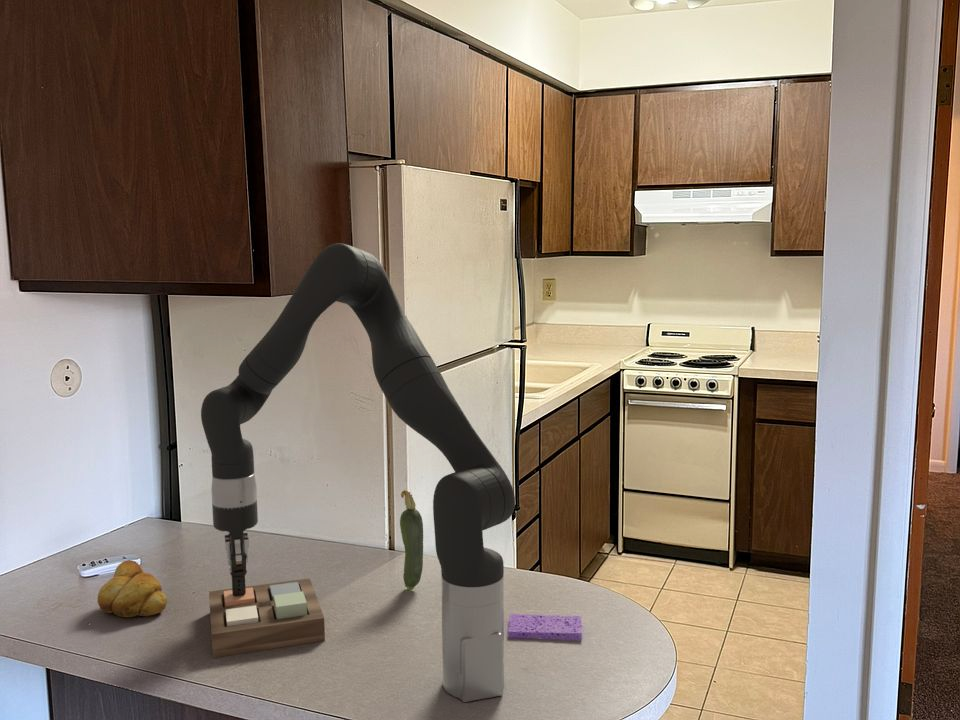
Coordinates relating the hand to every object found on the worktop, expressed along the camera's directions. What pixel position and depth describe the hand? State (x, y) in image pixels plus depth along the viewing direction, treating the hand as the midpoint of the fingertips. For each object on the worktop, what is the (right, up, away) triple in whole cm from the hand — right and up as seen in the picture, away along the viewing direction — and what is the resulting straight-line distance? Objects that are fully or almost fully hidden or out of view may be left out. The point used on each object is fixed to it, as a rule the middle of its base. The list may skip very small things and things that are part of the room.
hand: (239, 594), depth 151 cm
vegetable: (+30, -3, +13) cm, 32 cm away
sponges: (+54, -6, -4) cm, 54 cm away
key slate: (+8, -3, +3) cm, 9 cm away
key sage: (+10, -2, -5) cm, 12 cm away
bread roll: (-20, -5, +5) cm, 21 cm away
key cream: (+3, -4, -7) cm, 9 cm away
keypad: (+5, -5, -2) cm, 7 cm away
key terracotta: (0, -3, 0) cm, 3 cm away
